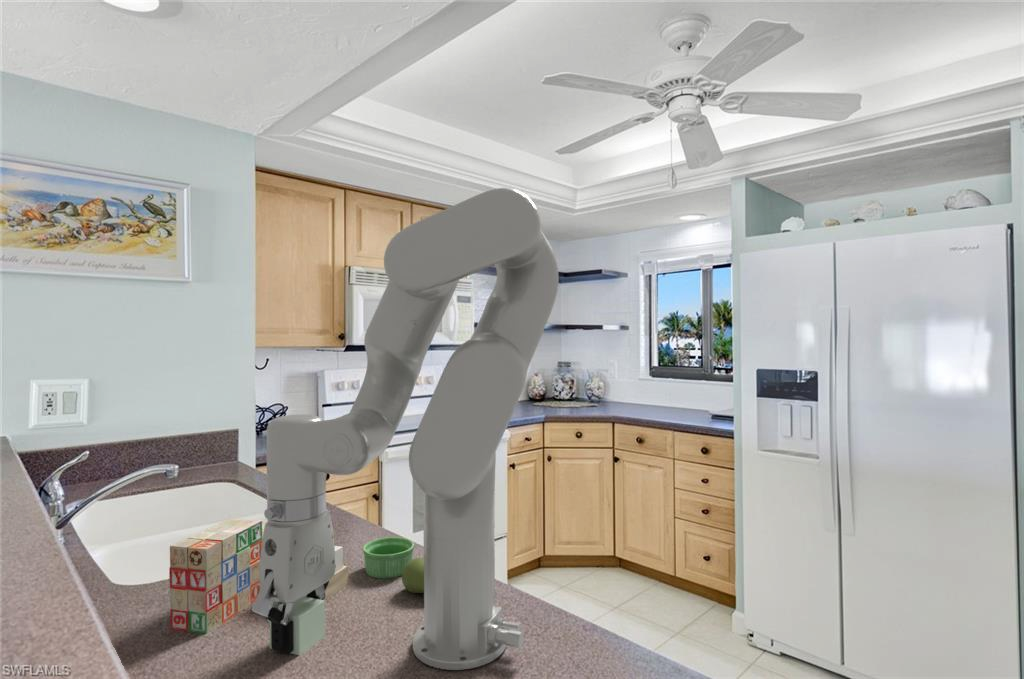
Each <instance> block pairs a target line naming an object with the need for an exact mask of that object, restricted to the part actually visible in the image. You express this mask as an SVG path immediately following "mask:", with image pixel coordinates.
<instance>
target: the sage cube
mask: <svg viewBox="0 0 1024 679" xmlns="http://www.w3.org/2000/svg"><path fill="white" fill-rule="evenodd" d="M282 608H283V603H281V604H280V603H279V606H278V609H279V610H280V611H281V612H282ZM290 621H292V622H293V651H292V652H291V653H290V654H292V655H296V656H301V655H302V654H304V653H305V652H306V651H308V650H309V649H311V647H313V646H315V645H316V644H317V643H318V642H320V641H321V640H323V639H324V638H325V637H326V600H325V601H324V600H319V599H314V598H309V597H302V598H300V599H299V600H297V601H295V602H293V604H292V610H291V616H290ZM269 649H271V650H273V649H272V647H271V622H269Z"/></svg>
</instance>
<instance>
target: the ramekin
mask: <svg viewBox="0 0 1024 679" xmlns="http://www.w3.org/2000/svg"><path fill="white" fill-rule="evenodd" d="M414 547H415V543H414V541H412V539H409V538H405V537H401V536H387V537H386V536H385V537H381V538H376V539H373V540H371V541H368V542H367V543H365V544H364V545H363V547H362V552H363V555H364V556H363V557H364V566H365V567H364V568H365V573H366V575H368V576H370V577H371V578H372V577H373V578H376V579H394V578H397V577H402V572H403V569H404V567H405V565H406V564H407V563H408V562H409V561H411V560H413V555H414V554H413V552H414V549H415V548H414Z"/></svg>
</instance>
